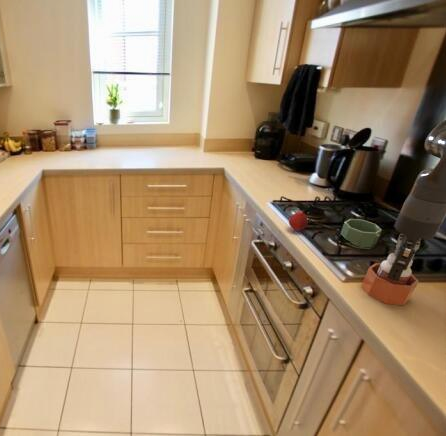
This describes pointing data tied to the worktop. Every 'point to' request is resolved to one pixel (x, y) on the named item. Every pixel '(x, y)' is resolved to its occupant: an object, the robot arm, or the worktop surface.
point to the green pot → (361, 233)
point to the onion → (298, 221)
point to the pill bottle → (387, 266)
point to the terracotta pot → (387, 287)
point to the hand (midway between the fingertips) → (394, 272)
